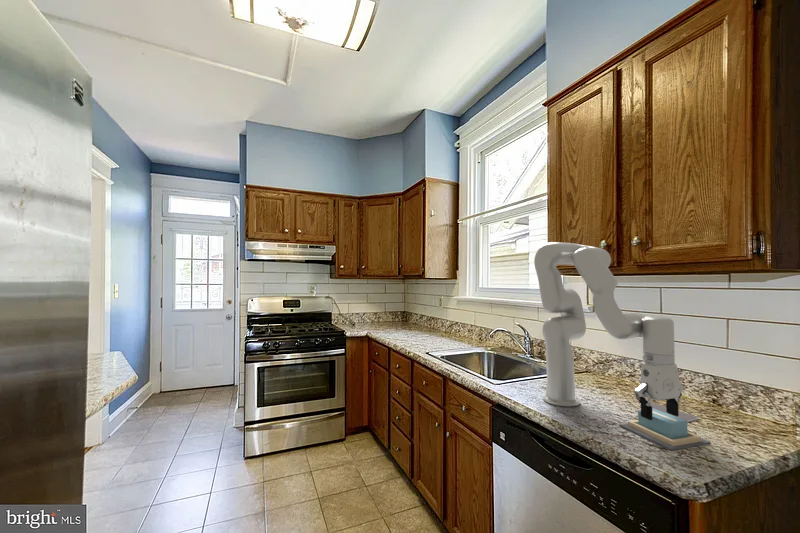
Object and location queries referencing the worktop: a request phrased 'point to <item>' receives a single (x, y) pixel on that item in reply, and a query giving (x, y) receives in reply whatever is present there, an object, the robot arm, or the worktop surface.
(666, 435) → the card box
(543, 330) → the robot arm
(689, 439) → the mat
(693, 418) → the smartphone
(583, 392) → the worktop surface
